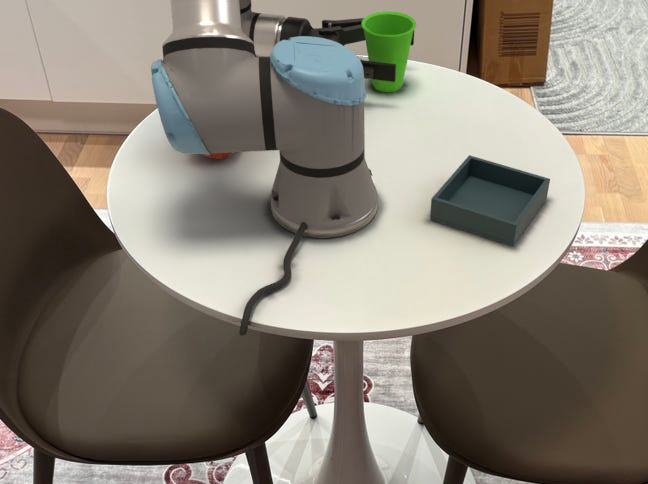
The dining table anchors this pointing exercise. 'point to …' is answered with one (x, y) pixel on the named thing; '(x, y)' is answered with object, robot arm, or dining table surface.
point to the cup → (389, 44)
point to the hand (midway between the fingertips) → (405, 54)
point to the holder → (489, 200)
